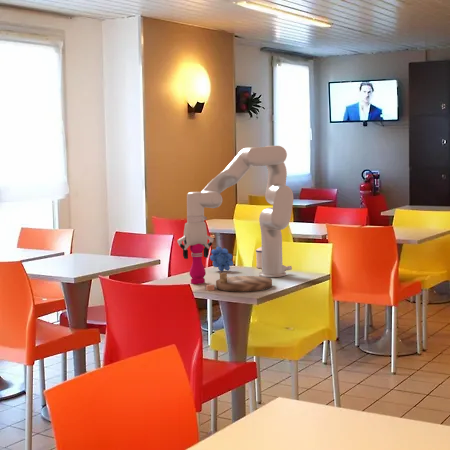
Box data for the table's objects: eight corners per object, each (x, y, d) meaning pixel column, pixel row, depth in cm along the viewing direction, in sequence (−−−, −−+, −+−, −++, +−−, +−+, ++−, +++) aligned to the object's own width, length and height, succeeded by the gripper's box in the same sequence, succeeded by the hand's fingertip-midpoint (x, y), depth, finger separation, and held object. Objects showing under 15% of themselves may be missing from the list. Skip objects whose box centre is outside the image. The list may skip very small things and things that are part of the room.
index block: (213, 289, 339) (212, 284, 339) (214, 290, 337) (214, 285, 337) (206, 289, 338) (206, 285, 338) (207, 290, 336) (207, 285, 336)
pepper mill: (203, 284, 352) (202, 239, 350) (188, 284, 353) (186, 239, 351) (207, 281, 359) (206, 237, 357) (192, 281, 360) (190, 237, 358)
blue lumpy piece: (207, 272, 386) (207, 247, 384) (211, 270, 392) (210, 245, 391) (231, 272, 383) (230, 247, 382) (234, 270, 389) (233, 245, 388)
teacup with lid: (273, 268, 390) (273, 245, 389) (255, 269, 392) (254, 245, 390) (275, 265, 402) (275, 242, 401) (257, 265, 403) (257, 242, 402)
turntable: (257, 279, 357) (257, 265, 356) (281, 288, 335) (281, 272, 334) (207, 284, 348) (207, 270, 347) (229, 293, 326) (228, 277, 325)
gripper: (209, 218, 360) (210, 255, 362) (174, 219, 353) (174, 258, 354) (216, 219, 354) (217, 257, 355) (180, 221, 346) (181, 260, 348)
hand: (195, 257), depth 355 cm, fingers open, 9 cm apart
